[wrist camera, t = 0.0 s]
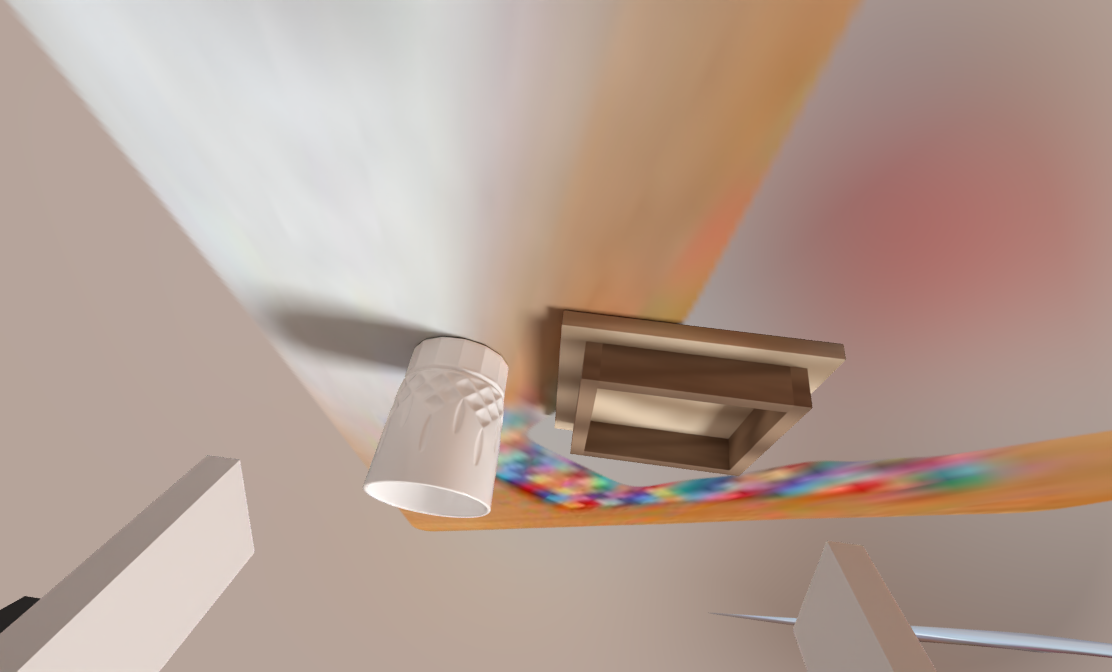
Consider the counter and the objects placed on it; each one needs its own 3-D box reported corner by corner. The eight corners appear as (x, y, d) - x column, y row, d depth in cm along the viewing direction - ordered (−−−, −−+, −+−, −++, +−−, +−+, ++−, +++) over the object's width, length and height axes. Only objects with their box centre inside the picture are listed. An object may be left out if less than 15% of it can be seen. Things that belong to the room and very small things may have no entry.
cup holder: (563, 310, 31) (556, 362, 30) (843, 344, 31) (852, 400, 29) (556, 416, 45) (550, 457, 43) (749, 442, 44) (751, 484, 43)
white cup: (386, 331, 36) (336, 477, 31) (495, 329, 34) (461, 485, 29) (435, 385, 43) (400, 513, 38) (529, 385, 41) (507, 521, 36)
